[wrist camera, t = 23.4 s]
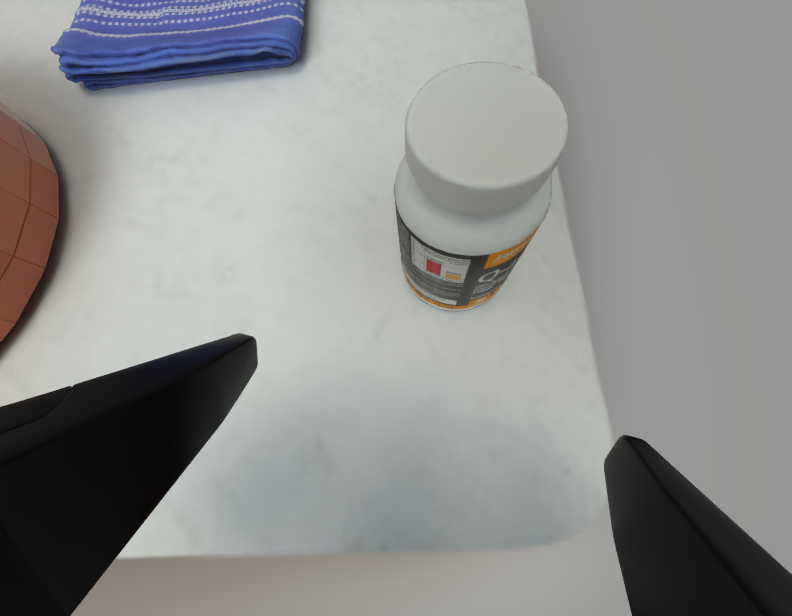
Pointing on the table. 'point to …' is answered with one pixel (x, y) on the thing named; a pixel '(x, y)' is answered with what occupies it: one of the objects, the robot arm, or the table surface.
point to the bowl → (23, 214)
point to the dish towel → (177, 39)
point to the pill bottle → (475, 179)
